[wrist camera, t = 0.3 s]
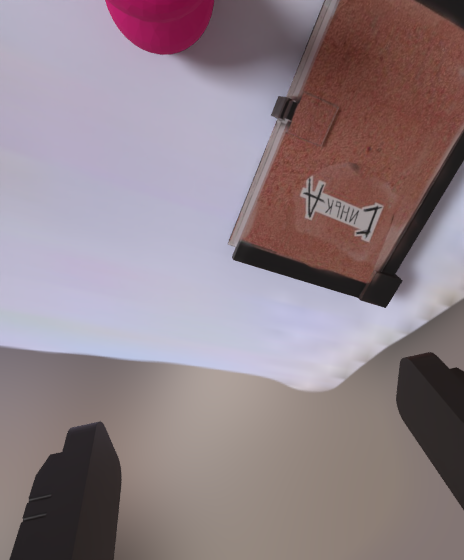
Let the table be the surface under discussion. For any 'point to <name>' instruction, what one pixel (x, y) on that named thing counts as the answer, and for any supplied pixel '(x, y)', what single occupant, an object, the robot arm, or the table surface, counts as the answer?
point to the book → (359, 147)
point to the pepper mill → (161, 22)
